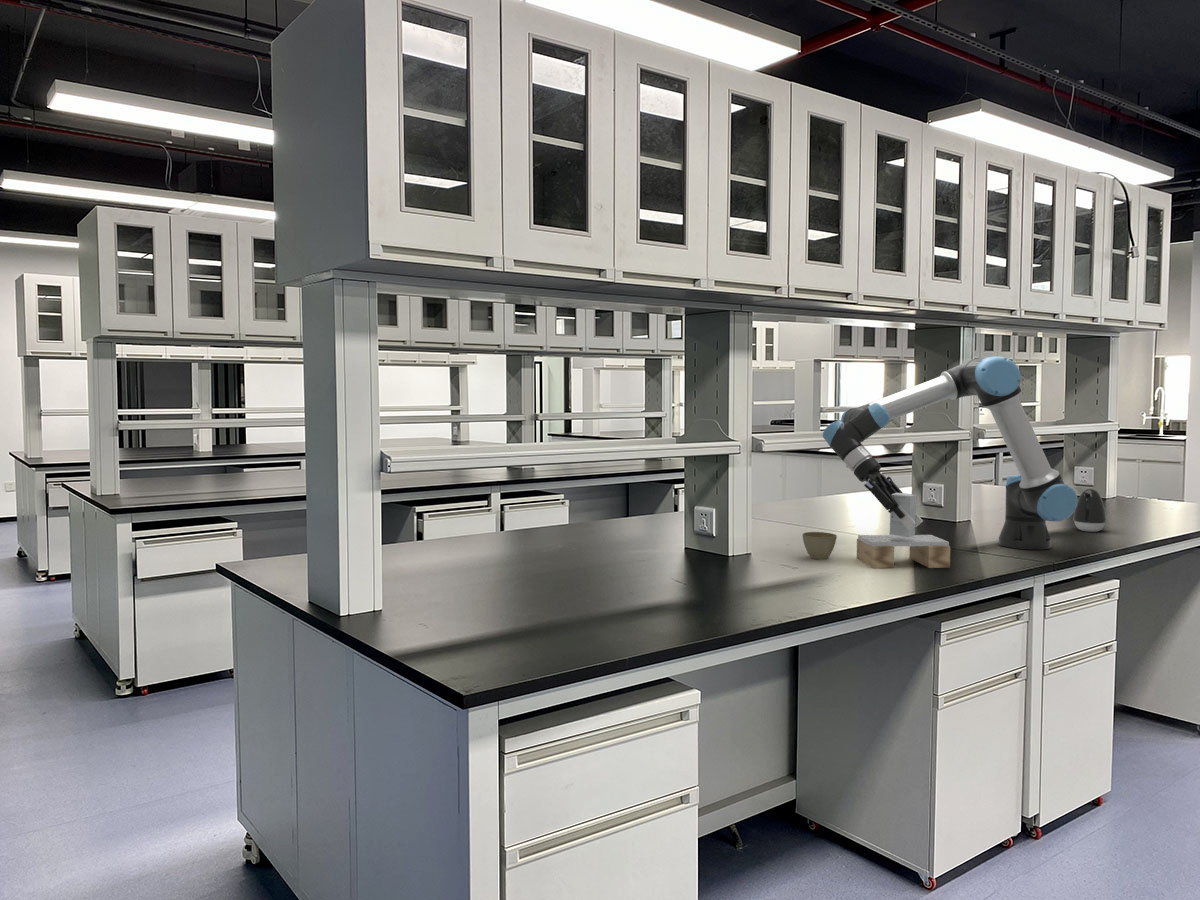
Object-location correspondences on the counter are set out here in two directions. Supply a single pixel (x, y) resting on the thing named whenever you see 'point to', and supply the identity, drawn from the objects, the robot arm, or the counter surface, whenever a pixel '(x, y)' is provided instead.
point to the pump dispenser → (1090, 512)
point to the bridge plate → (902, 540)
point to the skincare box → (910, 507)
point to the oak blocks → (920, 554)
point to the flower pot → (819, 544)
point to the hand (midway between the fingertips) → (915, 524)
